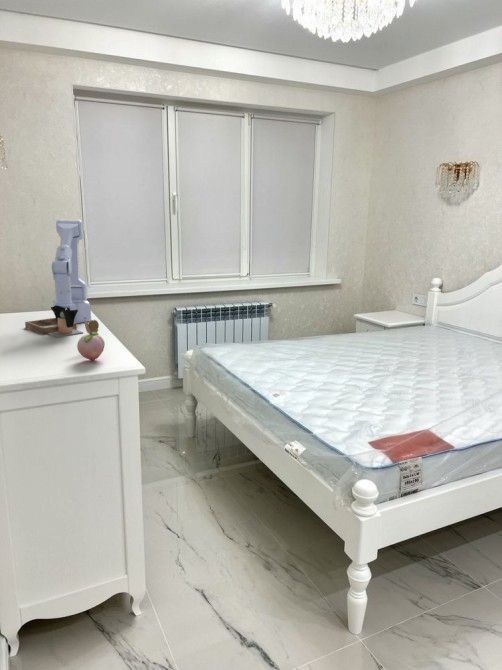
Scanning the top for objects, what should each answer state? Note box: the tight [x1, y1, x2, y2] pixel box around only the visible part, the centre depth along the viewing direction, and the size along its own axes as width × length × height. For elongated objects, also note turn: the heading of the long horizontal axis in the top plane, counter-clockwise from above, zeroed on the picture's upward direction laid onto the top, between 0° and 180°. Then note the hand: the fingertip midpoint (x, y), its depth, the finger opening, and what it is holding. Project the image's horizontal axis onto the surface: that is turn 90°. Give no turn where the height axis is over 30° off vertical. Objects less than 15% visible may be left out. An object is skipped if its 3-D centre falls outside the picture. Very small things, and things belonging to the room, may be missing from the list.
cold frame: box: [24, 317, 78, 335], centre depth 205 cm, size 14×16×2 cm
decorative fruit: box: [76, 331, 106, 362], centre depth 162 cm, size 9×8×10 cm
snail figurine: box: [83, 317, 100, 334], centre depth 176 cm, size 5×6×12 cm
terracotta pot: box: [57, 312, 73, 334], centre depth 196 cm, size 5×5×9 cm
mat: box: [47, 329, 84, 339], centre depth 197 cm, size 11×7×1 cm, turn 137°
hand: (65, 325), depth 197 cm, fingers open, 7 cm apart
